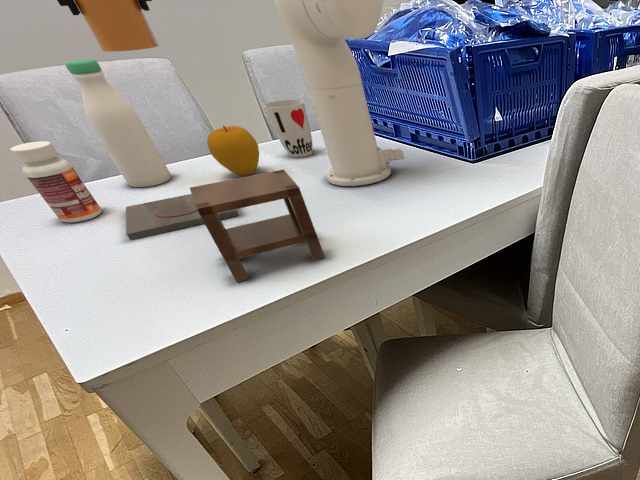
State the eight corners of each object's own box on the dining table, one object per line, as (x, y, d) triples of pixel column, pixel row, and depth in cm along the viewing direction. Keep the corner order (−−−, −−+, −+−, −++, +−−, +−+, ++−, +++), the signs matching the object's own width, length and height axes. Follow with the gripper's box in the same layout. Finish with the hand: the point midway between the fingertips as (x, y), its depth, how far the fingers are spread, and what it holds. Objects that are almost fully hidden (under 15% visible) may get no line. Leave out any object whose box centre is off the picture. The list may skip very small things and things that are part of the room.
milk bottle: (180, 179, 92) (114, 58, 78) (140, 190, 88) (63, 65, 74) (161, 173, 95) (94, 56, 81) (122, 184, 91) (44, 62, 77)
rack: (309, 236, 71) (283, 169, 64) (325, 258, 65) (299, 186, 58) (227, 258, 66) (189, 187, 59) (236, 283, 60) (196, 208, 54)
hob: (227, 192, 86) (224, 186, 85) (238, 215, 77) (235, 209, 77) (129, 212, 80) (125, 206, 79) (130, 240, 71) (125, 233, 70)
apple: (239, 166, 97) (218, 119, 91) (277, 167, 96) (258, 119, 90) (213, 180, 91) (188, 130, 85) (253, 181, 90) (231, 131, 84)
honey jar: (157, 43, 58) (113, -49, 52) (162, 47, 55) (114, -51, 49) (101, 48, 56) (47, -48, 50) (101, 53, 52) (43, -50, 46)
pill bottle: (102, 218, 78) (52, 146, 70) (59, 226, 76) (2, 153, 68) (104, 207, 82) (56, 137, 74) (62, 215, 79) (9, 144, 71)
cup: (284, 161, 99) (264, 109, 92) (281, 152, 104) (261, 102, 97) (322, 155, 102) (305, 104, 95) (316, 147, 107) (300, 97, 100)
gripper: (-178, -282, 35) (17, 20, 47) (90, -247, 42) (197, 8, 54) (-147, -253, 39) (23, 16, 52) (91, -225, 46) (189, 6, 59)
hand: (111, 10), depth 53 cm, fingers closed on honey jar, 6 cm apart
